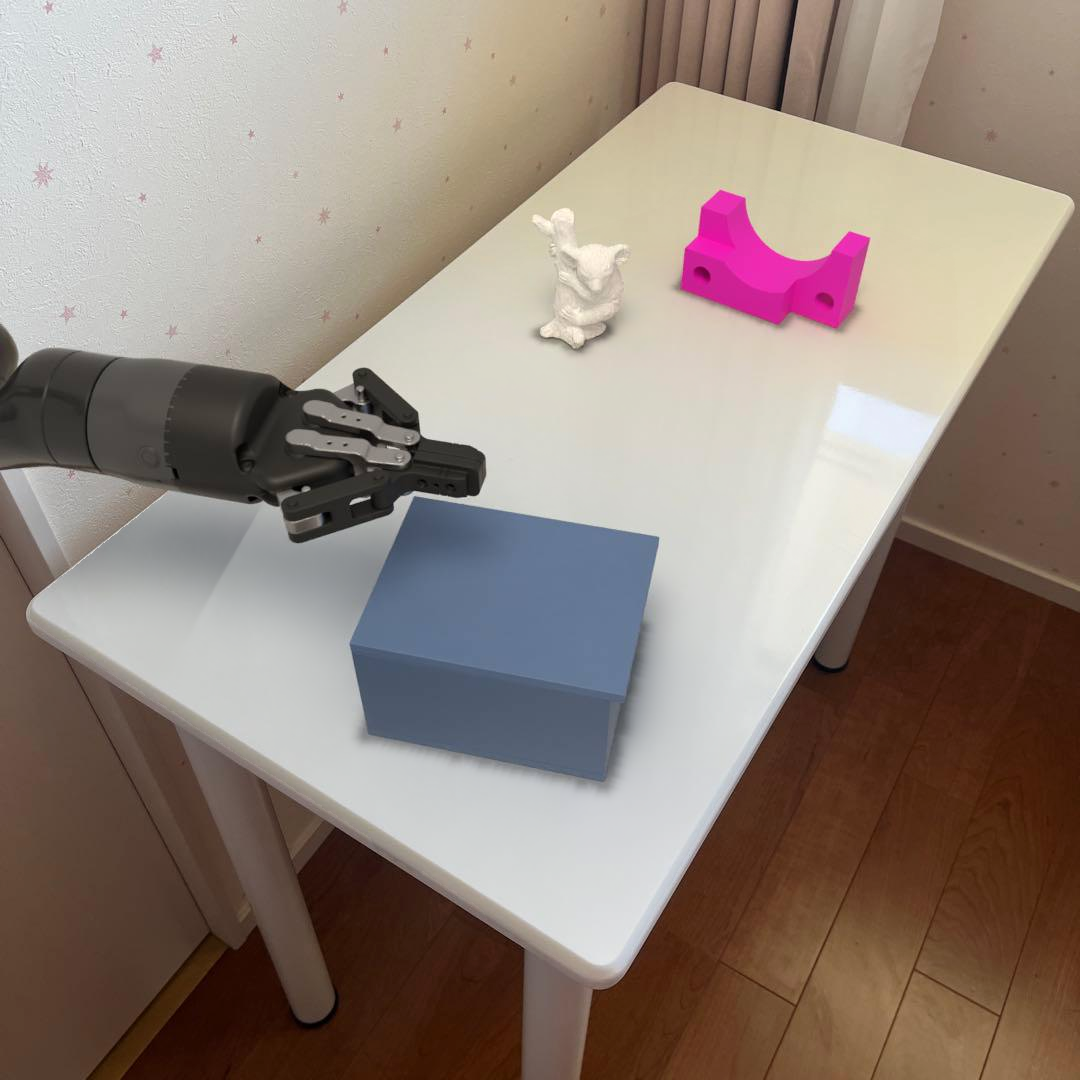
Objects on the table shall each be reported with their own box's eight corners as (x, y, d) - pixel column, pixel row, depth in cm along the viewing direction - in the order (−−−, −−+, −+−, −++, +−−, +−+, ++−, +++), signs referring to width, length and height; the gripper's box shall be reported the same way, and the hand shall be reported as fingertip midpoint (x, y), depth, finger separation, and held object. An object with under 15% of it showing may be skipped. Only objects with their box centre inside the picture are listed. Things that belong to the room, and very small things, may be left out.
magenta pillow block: (680, 289, 106) (687, 219, 100) (711, 258, 109) (720, 189, 104) (825, 342, 100) (841, 270, 94) (853, 308, 103) (870, 237, 98)
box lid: (658, 544, 71) (659, 536, 70) (624, 703, 63) (625, 695, 62) (414, 503, 74) (413, 495, 73) (350, 651, 65) (348, 643, 65)
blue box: (637, 628, 78) (646, 542, 71) (604, 782, 69) (610, 701, 63) (425, 590, 80) (415, 504, 74) (368, 734, 72) (350, 652, 65)
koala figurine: (522, 345, 100) (520, 227, 91) (546, 304, 104) (546, 187, 95) (611, 364, 98) (618, 245, 89) (632, 321, 102) (641, 204, 93)
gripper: (251, 406, 71) (513, 446, 68) (157, 555, 62) (453, 608, 59) (226, 308, 65) (510, 348, 63) (119, 456, 57) (444, 510, 54)
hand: (482, 474), depth 61 cm, fingers closed
